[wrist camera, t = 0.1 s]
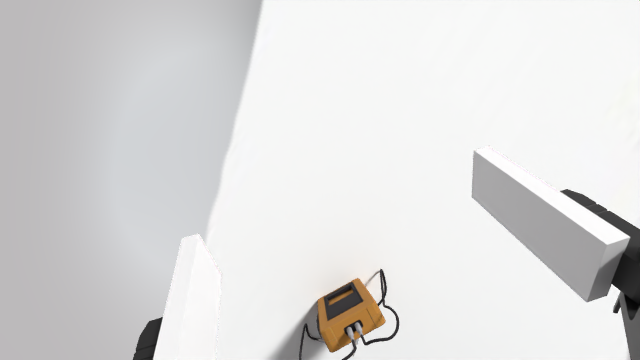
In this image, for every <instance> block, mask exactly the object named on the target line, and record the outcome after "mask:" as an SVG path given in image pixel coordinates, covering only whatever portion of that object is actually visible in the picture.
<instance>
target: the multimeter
mask: <svg viewBox="0 0 640 360" xmlns="http://www.w3.org/2000/svg"><path fill="white" fill-rule="evenodd" d="M382 275H383V278H384V283H385V294H384V290H383V281H382ZM380 279H381V290H382V300H381V301H380V303H379V304H378V305H377V303H376V301H375V300H374V299H373V297H372V296H371V294H370V293H369V291H368V290H367V289H366V287H365V286H364V285H363V283H362V282H361V281H360V279H358V278H357V279H355V280H353V281H351V282H349V283H348V284H346V285H344V286H342V287H340V288H338V289H337V290H335V291H333V292H331V293H329V294H327V295H326V296H323V297H322V298H320V299H318V301H317V302H318V315H317V328H318V332H319V334H320V336H321V338H319V339H317V338H313V337H311V336H310V334H309V332H308V328H307V324H305V325H304V328H303V333H302V339H301V345H300V352H299V360H301V353H302V345H303V338H304V332H305V328H306V331H307V334H308V336H309V337H310V338H311V339H313V340H318V341H320V342H325V343H326V345H327V347H328V349H329V351H330V352H335V351H337V350H339V349H340V348H342V347H344V346H346V345H349V343H351V342H352V343H353V347H354V350H353V351H352V352H351V353H350V354H349V355H348V356H346V357H345V358H343V359H342V360H347V359H349V358H350V357H351V356H352V355H353V356H354V353H355V351H356V344H358V339H359V338H360V337H361V338H362V341H363V343H364V345H369V344H371V343H374V342H379V341H388V340H390V339H392V338H393V337H394V336H395V335H396V333H397V332H398V329H399V318H398V315H397V314H396V312H395V311H394V310H393V309H392V308H391V307H389V306H386V305H385V300H384V298H385V296H386V292H387V286H386V280H385V276H384V273H383V270H382V269H380ZM382 301H383V306H384V307H385V308H388V309H390V310H391V311H392V312H393V313H394V314H395V316H396V321H397V325H396V329H395V332H394V333H393V334H392V335H391V336H390V337H388V338H379V339H374V340H370V341H368V342H365V340H364V337H363V335H365V334H367V333H369V332H371V331H372V330H374V329H376V328H378V327H380V326H382V325H383V324H384V323H385V319H384V317H383V315H382V313H381V311H380V309H379V307H378V306H379V305H380V304H381V303H382ZM354 341H355V342H354Z"/></svg>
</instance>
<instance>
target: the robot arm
mask: <svg viewBox="0 0 640 360" xmlns="http://www.w3.org/2000/svg"><path fill="white" fill-rule="evenodd" d="M472 198H473V199H474V200H475V201H477V202H478V203H479V204H480V205H481V206H482V207H483V208H484V209H485V210H486V211H487V212H489V213H490V214H491V215H492V216H493V217H494V218H495V219H496V220H497V221H498V222H499V223H501V224H502V225H503V226H504V227H505V228H506V229H507V230H508V231H509V232H510V233H511V234H513V235H514V236H515V237H516V238H517V239H518V240H519V241H520V242H521V243H522V244H523V245H524V246H526V247H527V248H528V249H529V250H530V251H531V252H532V253H533V254H534V255H535V256H536V257H538V258H539V259H540V260H541V261H542V262H543V263H544V264H545V265H546V266H547V267H548V268H550V269H551V270H552V271H553V272H554V273H555V274H556V275H557V276H558V277H559V278H560V279H562V280H563V281H564V282H565V283H566V284H567V285H568V286H569V287H570V288H571V289H572V290H574V291H575V292H576V293H577V294H578V295H579V296H580V297H581V298H582V299H583V300H584V301H585V302H589V301H592V300H595V299H598V298H601V297H604V296H607V294H608V292H609V289H610V287H611V284H613V285H614V286H615V287H617V288H618V289H619V290H620V291H621V292H620V294H619V296H618V299H617V301H616V303H615V306H614V309H613V313H618V311H619V309H620V307H621V311H622V316H623V322H624V327H625V332H626V337H627V343H628V348H629V353H630V358H631V360H640V229H638V228H637V227H635V226H633V225H632V224H630V223H629V222H627V221H625V220H624V219H622V218H620V217H619V216H617V215H615V214H614V213H612V212H611V211H607V209H606V208H604V207H602V206H601V205H599V204H596V202H594V201H593V200H591V199H589V198H588V197H586V196H584V195H583V194H580V193H577V192H574V191H571V190H568V189H566V190H562V191H558V190H557V189H555V188H554V187H552V186H550V185H549V184H547V183H546V182H544V181H543V180H541V179H540V178H538V177H537V176H535V175H533V174H532V173H530V172H529V171H527V170H526V169H524V168H523V167H521V166H519V165H518V164H516V163H515V162H513V161H512V160H510V159H509V158H507V157H506V156H504V155H502V154H501V153H499V152H498V151H496V150H495V149H493V148H492V147H490V146H487V147H483V148H480V149H477V150H474V156H473V179H472ZM221 282H222V274H221V272H220V270H219V268H218V266H217V265H216V263H215V261H214V259H213V258H212V256H211V254H210V252H209V250H208V249H207V247H206V245H205V243H204V241H203V240H202V238H201V236H200V234H199V233H198V234H195V235H192V236H188V237H185V238H182V241H181V245H180V249H179V253H178V257H177V262H176V266H175V270H174V274H173V278H172V282H171V287H170V291H169V295H168V299H167V303H166V307H165V311H164V316H163V317H161V318H159V319H155V320H152V321H149V322H148V324H147V325H146V327H145V329H144V330H143V332H142V333H141V335H140V337H139V340H138V344H137V347H136V353H135V354H134V357H133V360H216V352H217V338H218V324H219V310H220V296H221Z"/></svg>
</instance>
